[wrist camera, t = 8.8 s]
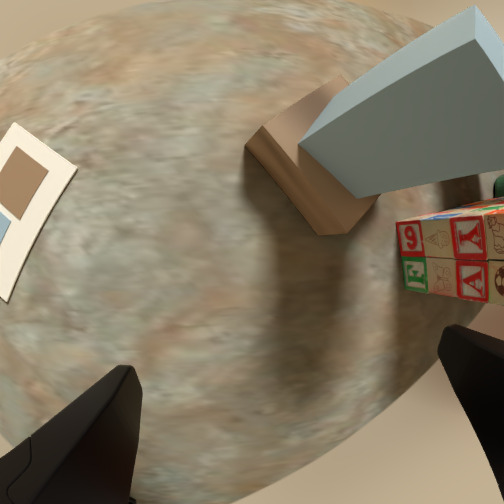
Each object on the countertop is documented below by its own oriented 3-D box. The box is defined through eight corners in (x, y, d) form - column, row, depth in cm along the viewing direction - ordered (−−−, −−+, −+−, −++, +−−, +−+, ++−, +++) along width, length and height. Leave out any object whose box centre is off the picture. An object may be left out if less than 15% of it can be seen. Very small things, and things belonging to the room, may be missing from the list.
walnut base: (317, 235, 20) (347, 233, 17) (244, 145, 18) (262, 125, 15) (376, 172, 22) (405, 163, 19) (317, 94, 20) (341, 74, 17)
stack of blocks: (486, 197, 29) (559, 190, 17) (492, 242, 30) (564, 242, 18) (393, 221, 23) (522, 210, 11) (402, 291, 23) (524, 310, 12)
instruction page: (7, 301, 14) (5, 302, 13) (-49, 244, 12) (-51, 244, 11) (78, 168, 15) (76, 167, 15) (15, 122, 13) (13, 121, 13)
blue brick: (356, 198, 17) (541, 162, 6) (297, 143, 16) (475, 38, 4) (384, 146, 18) (532, 95, 7) (334, 96, 17) (474, 4, 5)
